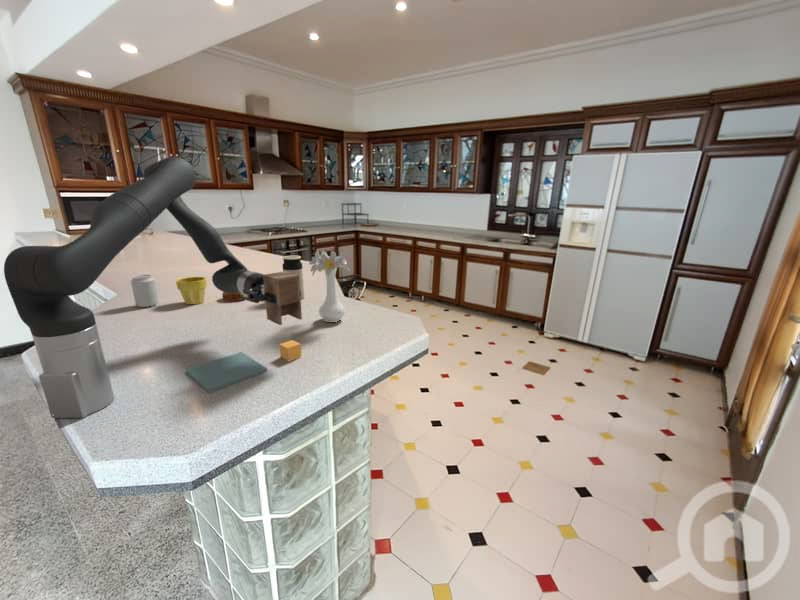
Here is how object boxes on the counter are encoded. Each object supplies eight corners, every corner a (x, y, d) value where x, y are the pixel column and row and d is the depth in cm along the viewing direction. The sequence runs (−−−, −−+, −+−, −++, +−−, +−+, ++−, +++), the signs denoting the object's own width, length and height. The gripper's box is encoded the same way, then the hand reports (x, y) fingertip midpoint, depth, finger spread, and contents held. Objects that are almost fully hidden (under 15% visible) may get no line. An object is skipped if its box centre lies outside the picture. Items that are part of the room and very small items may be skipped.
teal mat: (267, 371, 89) (266, 368, 88) (208, 392, 79) (208, 389, 78) (241, 354, 97) (241, 351, 97) (186, 372, 87) (185, 369, 87)
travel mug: (305, 299, 149) (302, 258, 144) (286, 301, 146) (282, 258, 141) (303, 295, 156) (300, 254, 151) (284, 296, 153) (281, 255, 148)
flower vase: (337, 310, 136) (334, 245, 129) (358, 324, 122) (357, 252, 115) (304, 315, 130) (300, 248, 122) (323, 331, 115) (319, 255, 108)
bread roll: (245, 302, 156) (239, 285, 156) (254, 297, 149) (249, 279, 149) (222, 307, 149) (216, 290, 149) (232, 302, 142) (225, 283, 142)
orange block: (301, 357, 97) (300, 343, 96) (288, 361, 94) (287, 348, 93) (293, 352, 99) (292, 339, 98) (280, 357, 96) (279, 344, 95)
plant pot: (181, 300, 146) (177, 277, 143) (209, 297, 150) (206, 275, 147) (178, 307, 137) (174, 283, 134) (208, 304, 141) (204, 280, 138)
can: (147, 309, 134) (141, 278, 131) (131, 307, 136) (124, 277, 132) (163, 303, 141) (158, 274, 138) (148, 302, 143) (142, 273, 139)
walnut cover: (301, 319, 93) (299, 274, 89) (279, 325, 88) (276, 278, 85) (288, 313, 97) (285, 271, 94) (267, 319, 92) (262, 274, 89)
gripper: (228, 276, 94) (259, 288, 83) (278, 269, 104) (310, 278, 93) (232, 303, 96) (262, 317, 85) (280, 293, 106) (312, 305, 96)
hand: (287, 297), depth 89 cm, fingers closed on walnut cover, 6 cm apart
